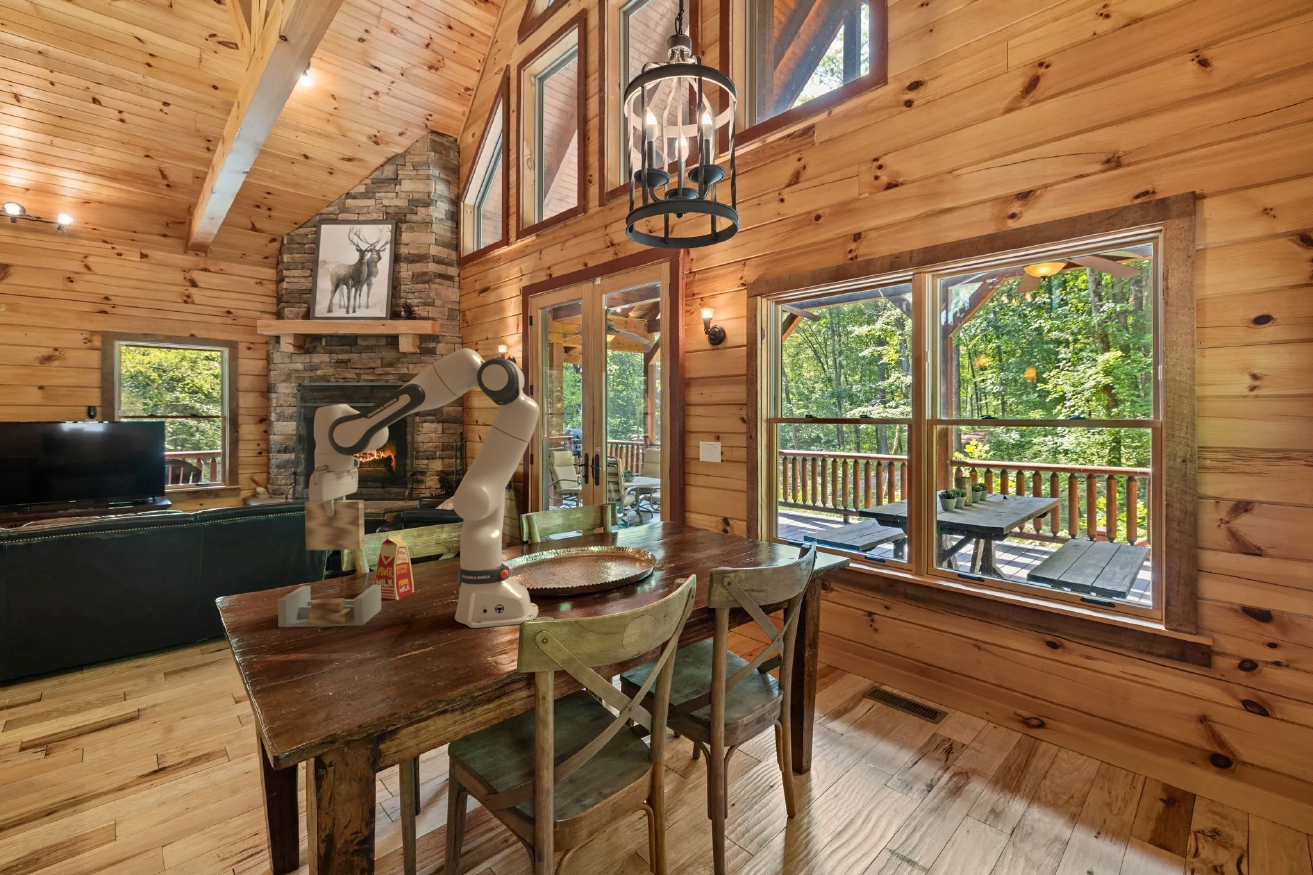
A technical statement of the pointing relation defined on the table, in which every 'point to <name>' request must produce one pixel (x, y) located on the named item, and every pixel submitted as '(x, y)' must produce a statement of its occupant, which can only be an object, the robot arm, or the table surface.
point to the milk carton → (394, 569)
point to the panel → (335, 526)
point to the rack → (299, 601)
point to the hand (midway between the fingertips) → (335, 514)
